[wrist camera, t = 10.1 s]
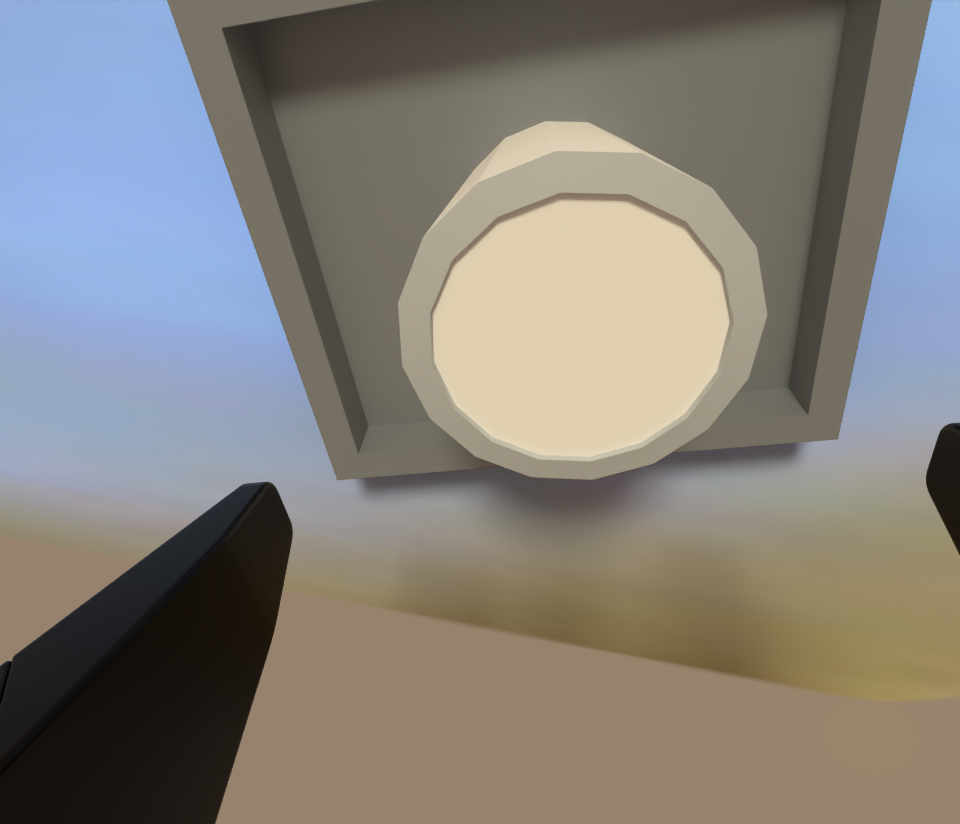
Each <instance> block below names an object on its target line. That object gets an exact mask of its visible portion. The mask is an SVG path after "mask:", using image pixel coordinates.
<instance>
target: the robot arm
mask: <svg viewBox="0 0 960 824" xmlns="http://www.w3.org/2000/svg"><path fill="white" fill-rule="evenodd" d="M926 484H927V489H928V492H929V494H930V496H931V498H932V500H933V502H934V504H935V506H936V508H937V510H938V512H939V514H940V516H941V518H942V520H943V522H944V524H945V526H946V528H947V530H948V532H949V534H950V536H951V538H952V540H953V543H954V545H955V547H956V549H957V551H958V553H959V555H960V423H951V424H948V425H946V426H945V427H943V429H942V430H941V431H940V433H939V436H938V439H937V442H936V445H935V448H934V451H933V454H932V457H931V460H930V464H929V467H928V470H927V474H926ZM292 536H293V531H292V524H291V521H290V519H289V516H288V514H287V512H286V509H285V507H284V505H283V502H282V500H281V498H280V495H279V493H278V491H277V489H276V487H275V486H274V485H273V484H272V483H270V482H258V483H247V484H243V485H241V486H240V487H238V488H237V489H236V490H234V491H233V492H232V493H230V494H229V495H228V496H226V497H225V498H224V499H222V500H221V501H220V502H218V503H217V504H216V505H214V506H213V507H212V508H210V509H209V510H208V511H206V512H205V513H204V514H202V515H201V516H200V517H198V518H197V519H196V520H194V521H193V522H192V523H190V524H189V525H188V526H186V527H185V528H184V529H182V530H181V531H180V532H178V533H177V534H176V535H174V536H173V537H172V538H170V539H169V540H168V541H166V542H165V543H164V544H162V545H161V546H160V547H158V548H157V549H156V550H154V551H153V552H152V553H150V554H149V555H148V556H146V557H145V558H144V559H142V560H141V561H140V562H138V563H137V564H136V565H134V566H133V567H132V568H130V569H129V570H128V571H126V572H125V573H124V574H122V575H121V576H120V577H118V578H117V579H116V580H114V581H113V582H112V583H110V584H109V585H108V586H106V587H105V588H104V589H102V590H101V591H100V592H98V593H97V594H96V595H94V596H93V597H92V598H90V599H89V600H88V601H86V602H85V603H84V604H82V605H81V606H80V607H78V608H77V609H76V610H74V611H73V612H72V613H70V614H69V615H68V616H66V617H65V618H64V619H62V620H61V621H60V622H58V623H57V624H56V625H54V626H53V627H52V628H50V629H49V630H48V631H46V632H45V633H44V634H42V635H41V636H40V637H38V638H37V639H36V640H34V641H33V642H32V643H30V644H29V645H28V646H26V647H25V648H24V649H22V650H21V651H20V652H19V653H17V654H16V655H15V656H14V657H13V659H12V661H6V662H5V663H3V664H2V665H1V666H0V824H215V823H216V820H217V816H218V813H219V810H220V806H221V803H222V800H223V797H224V794H225V790H226V787H227V784H228V781H229V777H230V774H231V771H232V768H233V764H234V761H235V758H236V755H237V752H238V748H239V745H240V742H241V739H242V735H243V732H244V729H245V725H246V723H247V719H248V716H249V713H250V710H251V706H252V703H253V700H254V696H255V693H256V690H257V687H258V684H259V681H260V677H261V674H262V671H263V668H264V664H265V661H266V658H267V655H268V651H269V648H270V644H271V641H272V637H273V634H274V630H275V625H276V621H277V616H278V611H279V606H280V600H281V595H282V590H283V585H284V580H285V574H286V569H287V564H288V559H289V553H290V548H291V543H292Z"/></svg>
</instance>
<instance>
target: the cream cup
mask: <svg viewBox="0 0 960 824" xmlns="http://www.w3.org/2000/svg"><path fill="white" fill-rule="evenodd" d="M398 312H399V327H400V341H401V356H402V367H403V369H404V370H405V372H406V374H407V376H408V378H409V380H410V382H411V384H412V386H413V387H414V389H415V391H416V393H417V395H418V397H419V399H420V401H421V402H422V404H423V406H424V408H425V410H426V412H427V414H428V416H429V418H430V419H431V420H432V421H433V422H435V423H436V424H437V425H438V426H439V427H441V428H442V429H443V430H444V431H445V432H447V433H448V434H449V435H450V436H451V437H453V438H454V439H455V440H456V441H457V442H459V443H460V444H461V445H462V446H463V447H464V448H466V449H467V450H468V451H469V452H470V453H472V454H473V455H474V456H475V457H478V458H481V459H483V460H486V461H489V462H491V463H494V464H497V465H500V466H502V467H505V468H508V469H510V470H513V471H516V472H518V473H521V474H524V475H527V476H529V477H538V478H562V479H585V480H594V479H597V478H601V477H605V476H609V475H613V474H616V473H620V472H624V471H628V470H632V469H635V468H639V467H643V466H647V465H651V464H654V463H655V462H657V461H659V460H660V459H662V458H663V457H665V456H667V455H668V454H670V453H671V452H673V451H674V450H676V449H678V448H679V447H681V446H682V445H684V444H686V443H687V442H689V441H690V440H692V439H694V438H695V437H697V436H698V435H700V434H701V433H703V432H705V431H706V430H708V429H709V427H710V426H711V425H712V424H713V422H714V421H715V420H716V419H717V417H718V416H719V415H720V414H721V412H722V411H723V410H724V409H725V407H726V406H727V405H728V404H729V402H730V401H731V400H732V399H733V397H734V396H735V395H736V394H737V392H738V391H739V390H740V389H741V387H742V386H743V385H744V384H745V382H746V381H747V380H748V379H749V375H750V372H751V369H752V365H753V362H754V359H755V355H756V352H757V348H758V345H759V342H760V338H761V335H762V332H763V328H764V325H765V321H766V318H767V309H766V303H765V296H764V290H763V284H762V277H761V271H760V265H759V259H758V252H757V247H756V246H755V244H754V243H753V242H752V240H751V239H750V237H749V236H748V235H747V233H746V232H745V231H744V229H743V228H742V227H741V225H740V224H739V223H738V221H737V220H736V219H735V217H734V216H733V215H732V213H731V212H730V211H729V209H728V208H727V207H726V205H725V204H724V203H723V201H722V200H721V199H720V197H719V196H718V195H717V193H716V192H715V191H714V189H713V188H711V187H710V186H708V185H706V184H704V183H702V182H700V181H699V180H697V179H695V178H693V177H691V176H689V175H688V174H686V173H684V172H682V171H680V170H678V169H677V168H675V167H673V166H671V165H669V164H667V163H666V162H664V161H662V160H660V159H658V158H656V157H654V156H653V155H651V154H649V153H647V152H645V151H643V150H642V149H640V148H638V147H636V146H634V145H632V144H631V143H629V142H627V141H625V140H623V139H621V138H619V137H617V136H615V135H613V134H611V133H609V132H607V131H605V130H603V129H601V128H599V127H597V126H595V125H593V124H591V123H589V122H555V121H545V122H542V123H540V124H537V125H535V126H533V127H530V128H528V129H525V130H523V131H521V132H518V133H516V134H513V135H511V136H509V137H506V138H505V139H504V140H503V141H502V142H501V143H500V144H499V145H498V146H497V147H496V148H495V149H494V150H493V151H492V152H491V153H490V154H489V155H488V156H487V157H486V158H485V159H484V160H483V161H482V162H481V163H480V164H479V165H478V166H477V167H476V168H475V169H474V171H473V172H472V173H471V175H470V176H469V177H468V179H467V180H466V181H465V183H464V184H463V185H462V187H461V188H460V189H459V190H458V192H457V193H456V194H455V196H454V197H453V198H452V200H451V201H450V202H449V204H448V205H447V206H446V208H445V209H444V210H443V212H442V213H441V214H440V216H439V217H438V218H437V220H436V221H435V222H434V224H433V225H432V226H431V227H430V229H429V230H428V231H427V233H426V234H425V235H424V237H423V238H422V241H421V244H420V246H419V249H418V252H417V254H416V257H415V259H414V262H413V265H412V267H411V270H410V273H409V275H408V278H407V280H406V283H405V286H404V288H403V291H402V294H401V296H400V299H399V301H398Z"/></svg>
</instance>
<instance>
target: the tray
mask: <svg viewBox="0 0 960 824" xmlns="http://www.w3.org/2000/svg"><path fill="white" fill-rule="evenodd" d="M167 1H168V4H169V7H170V10H171V13H172V15H173V18H174V21H175V24H176V27H177V29H178V32H179V35H180V38H181V41H182V44H183V46H184V49H185V52H186V55H187V58H188V60H189V63H190V66H191V69H192V72H193V75H194V77H195V80H196V83H197V86H198V89H199V91H200V94H201V97H202V100H203V103H204V106H205V108H206V111H207V114H208V117H209V120H210V122H211V125H212V128H213V131H214V134H215V137H216V139H217V142H218V145H219V148H220V151H221V153H222V156H223V159H224V162H225V165H226V168H227V170H228V173H229V176H230V179H231V182H232V184H233V187H234V190H235V193H236V196H237V199H238V201H239V204H240V207H241V210H242V213H243V215H244V218H245V221H246V224H247V227H248V230H249V232H250V235H251V238H252V241H253V244H254V247H255V249H256V252H257V255H258V258H259V261H260V263H261V266H262V269H263V272H264V275H265V278H266V280H267V283H268V286H269V289H270V292H271V294H272V297H273V300H274V303H275V306H276V309H277V311H278V314H279V317H280V320H281V323H282V325H283V328H284V331H285V334H286V337H287V340H288V342H289V345H290V348H291V351H292V354H293V356H294V359H295V362H296V365H297V368H298V371H299V373H300V376H301V379H302V382H303V385H304V387H305V390H306V393H307V396H308V399H309V402H310V404H311V407H312V410H313V413H314V416H315V418H316V421H317V424H318V427H319V430H320V433H321V435H322V438H323V441H324V444H325V447H326V449H327V452H328V455H329V458H330V461H331V464H332V466H333V469H334V472H335V475H336V478H337V480H345V479H358V478H370V477H382V476H394V475H407V474H419V473H431V472H443V471H455V470H468V469H480V468H492V467H502V466H500V465H497V464H494V463H491V462H489V461H486V460H483V459H481V458H478V457H475V456H474V455H473V454H472V453H470V452H469V451H468V450H467V449H466V448H464V447H463V446H462V445H461V444H460V443H459V442H457V441H456V440H455V439H454V438H453V437H451V436H450V435H449V434H448V433H447V432H445V431H444V430H443V429H442V428H441V427H439V426H438V425H437V424H436V423H435V422H433V421H432V420H431V419H430V418H429V416H428V414H427V412H426V410H425V408H424V406H423V404H422V402H421V401H420V399H419V397H418V395H417V393H416V391H415V389H414V387H413V386H412V384H411V382H410V380H409V378H408V376H407V374H406V372H405V370H404V369H403V367H402V356H401V341H400V327H399V312H398V301H399V299H400V296H401V294H402V291H403V288H404V286H405V283H406V280H407V278H408V275H409V273H410V270H411V267H412V265H413V262H414V259H415V257H416V254H417V252H418V249H419V246H420V244H421V241H422V238H423V237H424V235H425V234H426V233H427V231H428V230H429V229H430V227H431V226H432V225H433V224H434V222H435V221H436V220H437V218H438V217H439V216H440V214H441V213H442V212H443V210H444V209H445V208H446V206H447V205H448V204H449V202H450V201H451V200H452V198H453V197H454V196H455V194H456V193H457V192H458V190H459V189H460V188H461V187H462V185H463V184H464V183H465V181H466V180H467V179H468V177H469V176H470V175H471V173H472V172H473V171H474V169H475V168H476V167H477V166H478V165H479V164H480V163H481V162H482V161H483V160H484V159H485V158H486V157H487V156H488V155H489V154H490V153H491V152H492V151H493V150H494V149H495V148H496V147H497V146H498V145H499V144H500V143H501V142H502V141H503V140H504V139H505V138H506V137H509V136H511V135H513V134H516V133H518V132H521V131H523V130H525V129H528V128H530V127H533V126H535V125H537V124H540V123H542V122H545V121H555V122H589V123H591V124H593V125H595V126H597V127H599V128H601V129H603V130H605V131H607V132H609V133H611V134H613V135H615V136H617V137H619V138H621V139H623V140H625V141H627V142H629V143H631V144H632V145H634V146H636V147H638V148H640V149H642V150H643V151H645V152H647V153H649V154H651V155H653V156H654V157H656V158H658V159H660V160H662V161H664V162H666V163H667V164H669V165H671V166H673V167H675V168H677V169H678V170H680V171H682V172H684V173H686V174H688V175H689V176H691V177H693V178H695V179H697V180H699V181H700V182H702V183H704V184H706V185H708V186H710V187H711V188H713V189H714V191H715V192H716V193H717V195H718V196H719V197H720V199H721V200H722V201H723V203H724V204H725V205H726V207H727V208H728V209H729V211H730V212H731V213H732V215H733V216H734V217H735V219H736V220H737V221H738V223H739V224H740V225H741V227H742V228H743V229H744V231H745V232H746V233H747V235H748V236H749V237H750V239H751V240H752V242H753V243H754V244H755V246H756V247H757V252H758V259H759V265H760V271H761V277H762V284H763V290H764V296H765V303H766V309H767V318H766V321H765V325H764V328H763V332H762V335H761V338H760V342H759V345H758V348H757V352H756V355H755V359H754V362H753V365H752V369H751V372H750V375H749V379H748V380H747V381H746V382H745V384H744V385H743V386H742V387H741V389H740V390H739V391H738V392H737V394H736V395H735V396H734V397H733V399H732V400H731V401H730V402H729V404H728V405H727V406H726V407H725V409H724V410H723V411H722V412H721V414H720V415H719V416H718V417H717V419H716V420H715V421H714V422H713V424H712V425H711V426H710V427H709V429H708V430H706V431H705V432H703V433H701V434H700V435H698V436H697V437H695V438H694V439H692V440H690V441H689V442H687V443H686V444H684V445H682V446H681V447H679V448H678V449H676V450H674V451H673V452H671V453H675V452H688V451H700V450H712V449H724V448H736V447H749V446H761V445H773V444H785V443H797V442H810V441H822V440H834V439H838V436H839V431H840V427H841V422H842V417H843V413H844V408H845V403H846V399H847V394H848V389H849V385H850V380H851V375H852V371H853V366H854V361H855V357H856V352H857V347H858V343H859V338H860V333H861V329H862V324H863V319H864V315H865V310H866V305H867V301H868V296H869V291H870V287H871V282H872V277H873V273H874V268H875V263H876V259H877V254H878V249H879V245H880V240H881V235H882V231H883V226H884V221H885V217H886V212H887V207H888V203H889V198H890V193H891V189H892V184H893V179H894V175H895V170H896V165H897V161H898V156H899V151H900V147H901V142H902V137H903V133H904V128H905V123H906V119H907V114H908V109H909V105H910V100H911V95H912V91H913V86H914V81H915V77H916V72H917V67H918V63H919V58H920V53H921V49H922V44H923V39H924V35H925V30H926V25H927V21H928V16H929V11H930V7H931V2H932V0H167Z"/></svg>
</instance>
